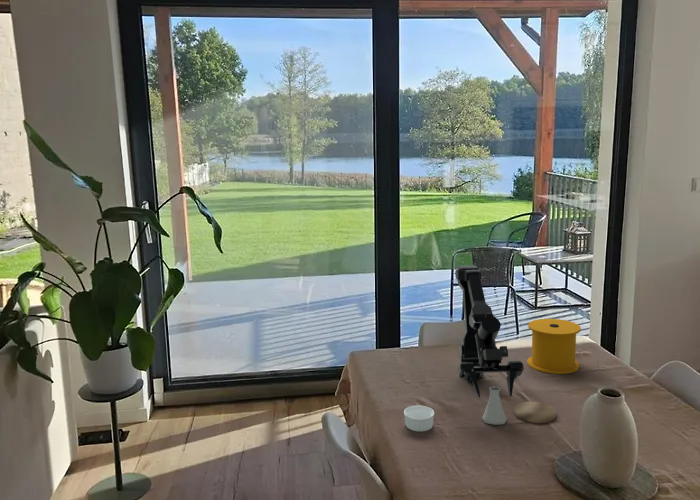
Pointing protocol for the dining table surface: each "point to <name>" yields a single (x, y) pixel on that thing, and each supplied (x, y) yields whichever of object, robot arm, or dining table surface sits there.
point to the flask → (494, 408)
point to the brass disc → (535, 412)
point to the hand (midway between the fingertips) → (495, 396)
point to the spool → (553, 346)
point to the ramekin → (419, 418)
